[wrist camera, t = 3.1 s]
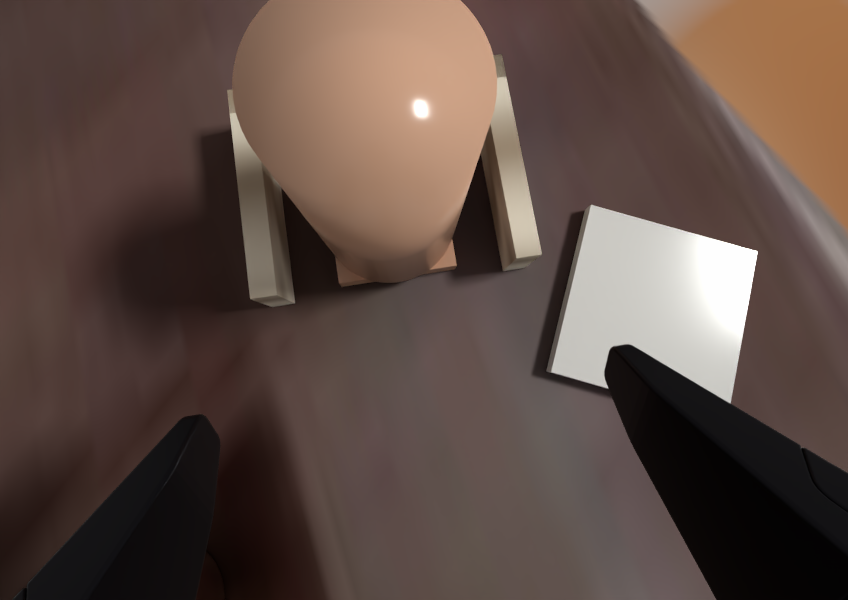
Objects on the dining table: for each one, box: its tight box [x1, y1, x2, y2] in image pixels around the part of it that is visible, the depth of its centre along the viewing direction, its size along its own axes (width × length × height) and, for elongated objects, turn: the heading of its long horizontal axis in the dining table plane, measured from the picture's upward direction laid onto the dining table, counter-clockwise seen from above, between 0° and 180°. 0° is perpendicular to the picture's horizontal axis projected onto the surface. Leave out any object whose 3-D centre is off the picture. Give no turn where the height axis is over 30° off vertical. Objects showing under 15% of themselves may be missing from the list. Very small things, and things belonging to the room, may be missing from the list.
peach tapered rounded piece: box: [232, 0, 497, 287], centre depth 17 cm, size 7×7×12 cm
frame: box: [227, 54, 542, 307], centre depth 22 cm, size 10×13×3 cm
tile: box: [546, 205, 757, 403], centre depth 22 cm, size 9×9×1 cm
